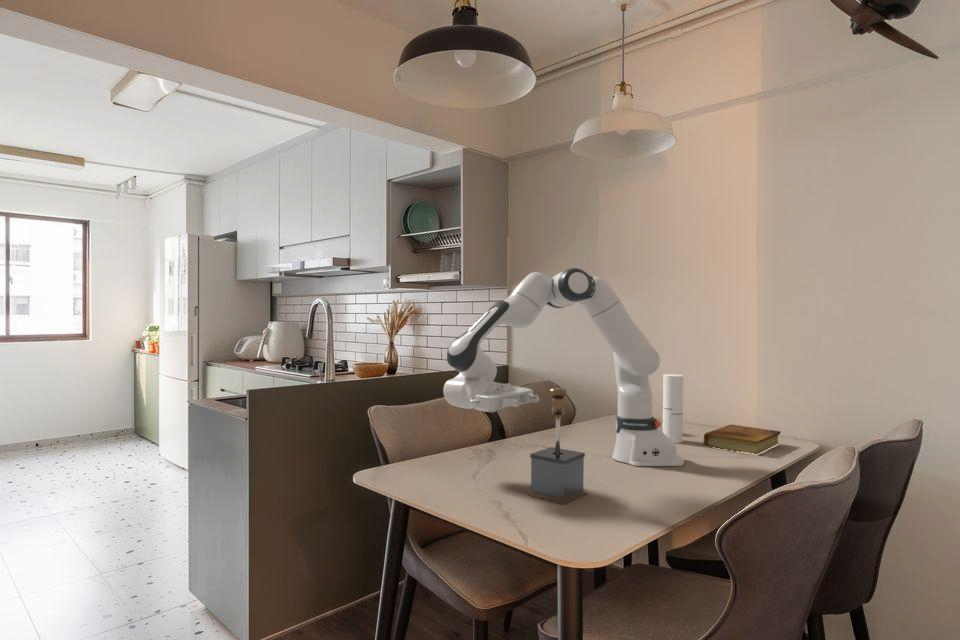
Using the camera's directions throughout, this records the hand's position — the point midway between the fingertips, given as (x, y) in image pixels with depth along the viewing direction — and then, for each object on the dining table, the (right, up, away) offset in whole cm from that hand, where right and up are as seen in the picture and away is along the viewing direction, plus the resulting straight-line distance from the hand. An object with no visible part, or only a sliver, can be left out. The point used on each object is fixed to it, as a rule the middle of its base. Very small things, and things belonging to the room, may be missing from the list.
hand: (528, 401), depth 157 cm
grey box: (+7, -24, -6) cm, 26 cm away
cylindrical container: (+60, -24, +58) cm, 87 cm away
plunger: (+7, -15, -6) cm, 18 cm away
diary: (+83, -24, +51) cm, 100 cm away
